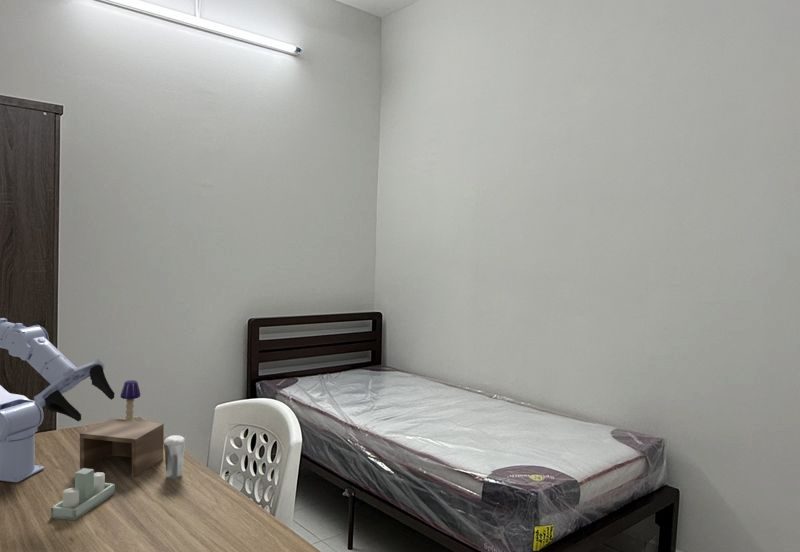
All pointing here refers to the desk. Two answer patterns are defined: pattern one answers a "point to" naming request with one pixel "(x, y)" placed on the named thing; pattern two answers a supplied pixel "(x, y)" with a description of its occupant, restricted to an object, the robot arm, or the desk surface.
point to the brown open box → (123, 443)
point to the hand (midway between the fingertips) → (96, 407)
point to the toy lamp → (130, 396)
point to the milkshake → (174, 455)
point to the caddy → (83, 495)
